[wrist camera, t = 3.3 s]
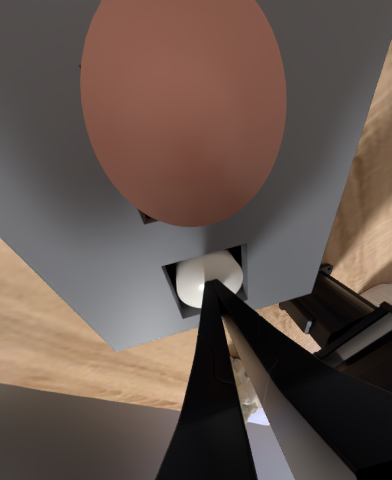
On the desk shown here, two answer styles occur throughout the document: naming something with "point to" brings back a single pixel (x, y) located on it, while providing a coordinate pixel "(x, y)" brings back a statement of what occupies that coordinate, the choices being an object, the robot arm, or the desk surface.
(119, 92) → the knob middle
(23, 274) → the desk surface
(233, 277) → the knob
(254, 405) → the skull
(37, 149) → the housing
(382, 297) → the ramekin
